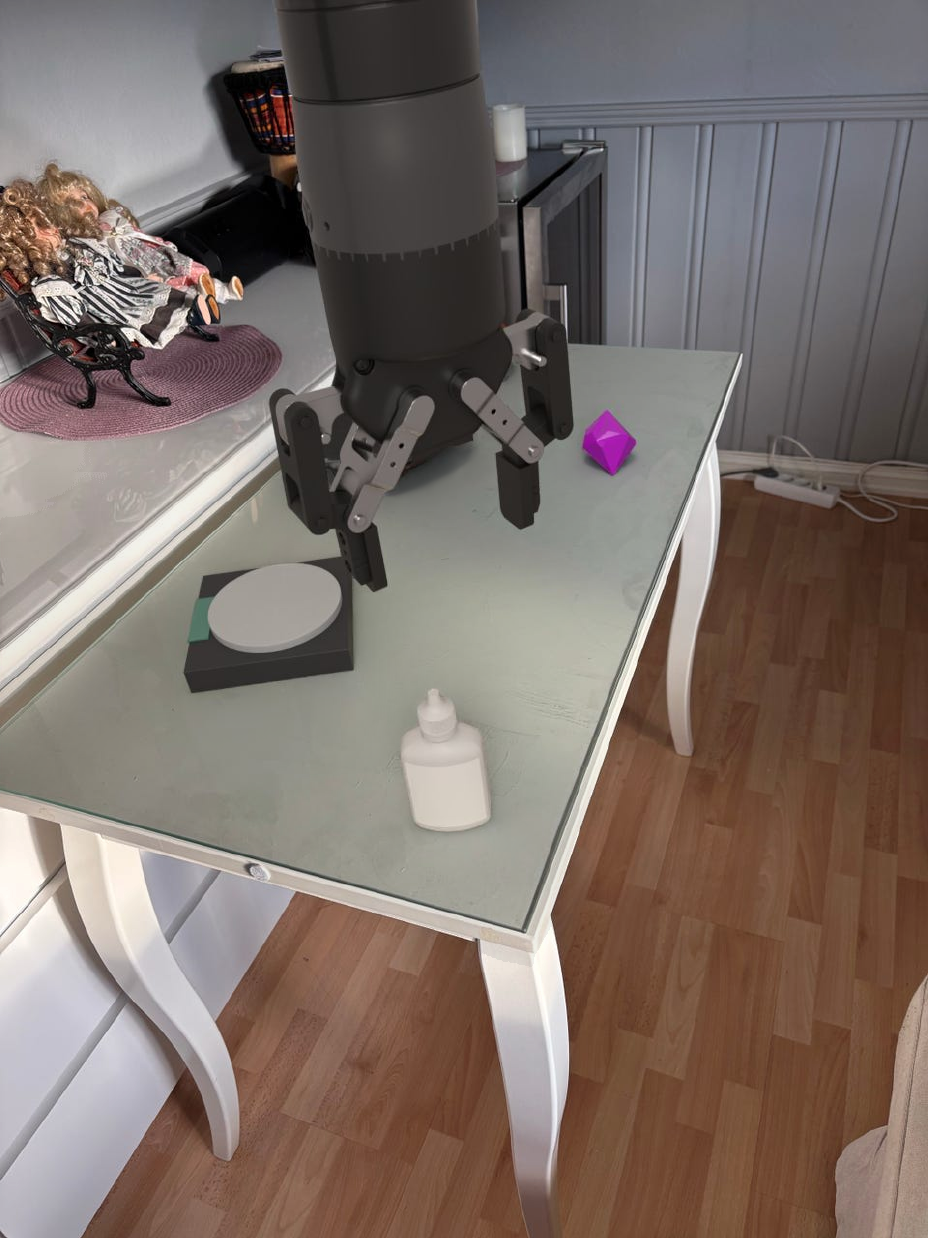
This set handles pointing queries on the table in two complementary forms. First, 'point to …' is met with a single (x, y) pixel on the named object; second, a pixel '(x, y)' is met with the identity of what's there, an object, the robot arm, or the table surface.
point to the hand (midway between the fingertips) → (447, 550)
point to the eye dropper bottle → (445, 769)
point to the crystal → (608, 442)
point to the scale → (271, 625)
